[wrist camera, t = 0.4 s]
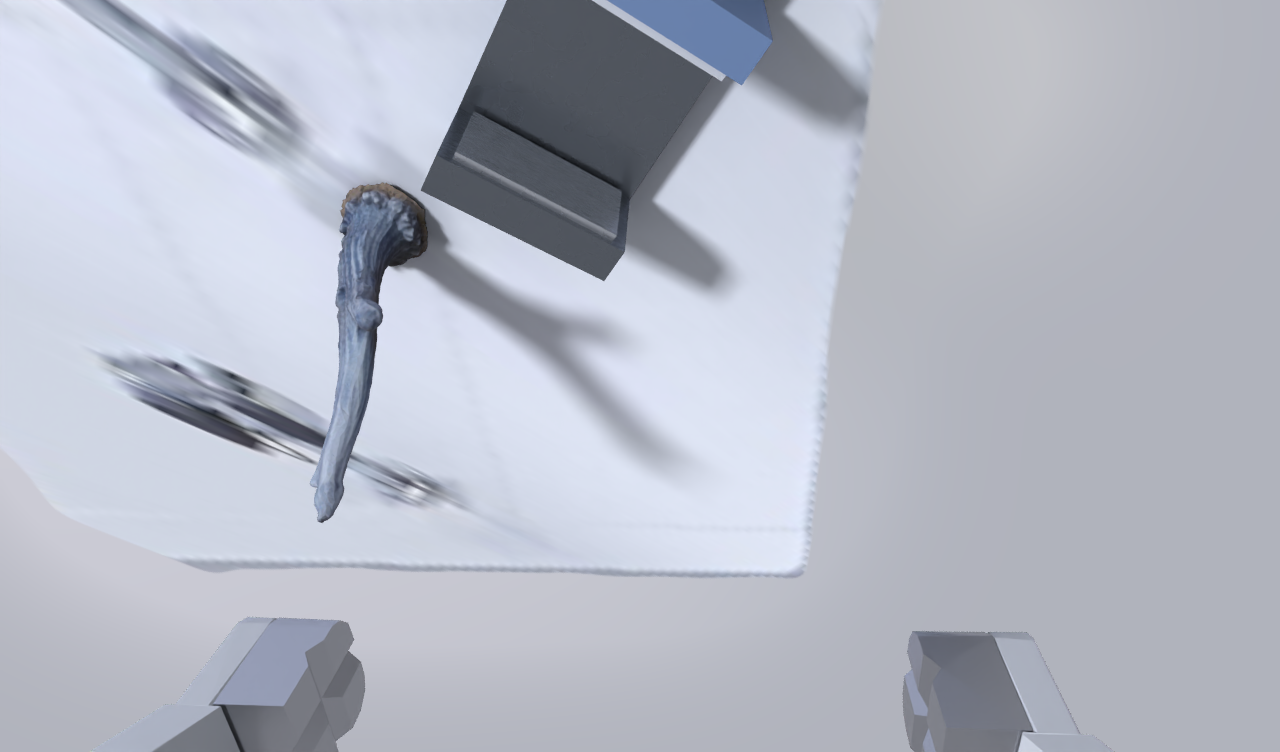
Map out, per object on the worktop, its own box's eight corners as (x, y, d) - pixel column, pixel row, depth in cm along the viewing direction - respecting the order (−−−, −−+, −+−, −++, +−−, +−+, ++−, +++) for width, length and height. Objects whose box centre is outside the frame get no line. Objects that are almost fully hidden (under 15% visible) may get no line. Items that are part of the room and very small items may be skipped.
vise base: (593, -194, 44) (579, -166, 38) (791, -52, 48) (806, -7, 42) (448, 131, 58) (420, 190, 52) (611, 217, 62) (604, 281, 56)
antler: (331, 180, 61) (183, 408, 43) (428, 177, 61) (320, 407, 43) (373, 297, 69) (264, 530, 51) (460, 295, 69) (380, 530, 50)
